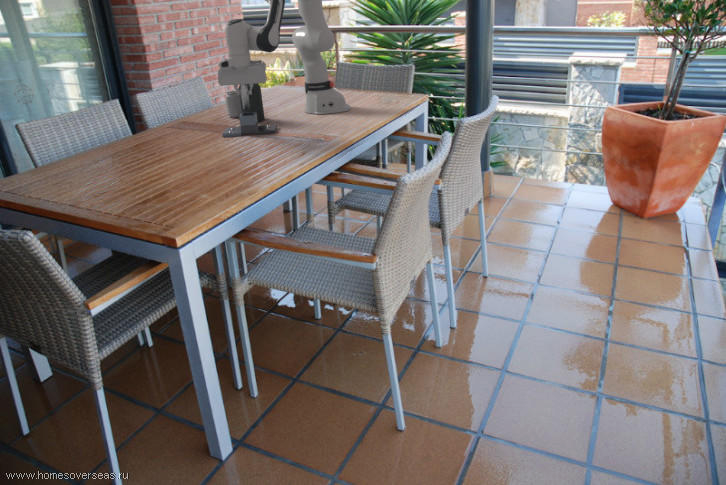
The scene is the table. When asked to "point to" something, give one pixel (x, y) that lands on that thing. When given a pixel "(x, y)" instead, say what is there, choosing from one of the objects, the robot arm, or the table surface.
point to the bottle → (254, 102)
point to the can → (233, 104)
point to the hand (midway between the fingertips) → (244, 94)
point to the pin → (244, 96)
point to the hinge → (249, 126)
